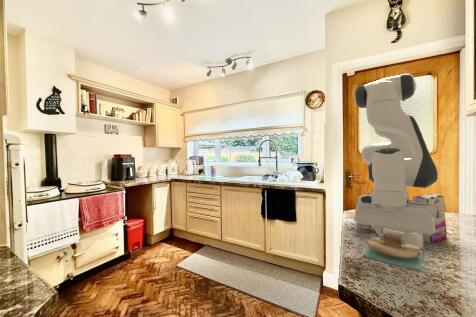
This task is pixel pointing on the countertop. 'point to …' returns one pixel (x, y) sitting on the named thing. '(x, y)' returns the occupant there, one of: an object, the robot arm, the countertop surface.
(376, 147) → the robot arm
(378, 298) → the countertop surface
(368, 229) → the energy drink
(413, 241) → the ceramic bowl
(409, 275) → the countertop surface
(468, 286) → the countertop surface
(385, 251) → the oak lid
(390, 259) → the rubber mat
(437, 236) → the candy bar box
